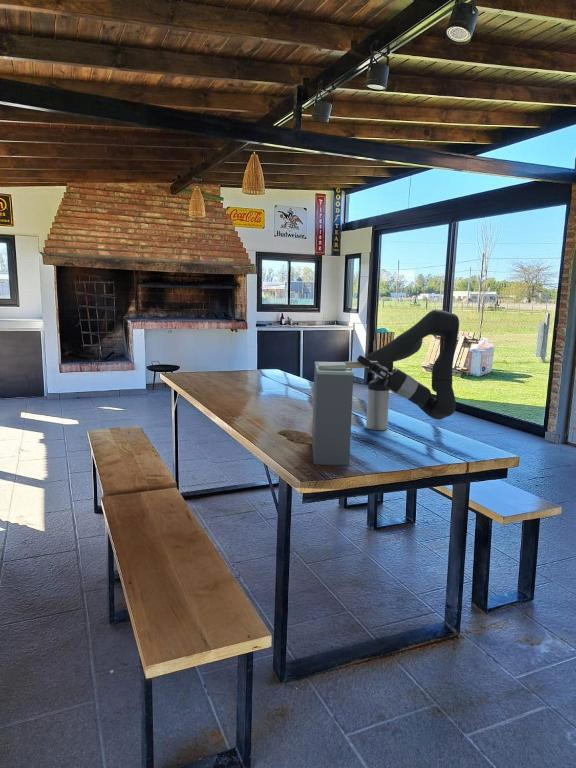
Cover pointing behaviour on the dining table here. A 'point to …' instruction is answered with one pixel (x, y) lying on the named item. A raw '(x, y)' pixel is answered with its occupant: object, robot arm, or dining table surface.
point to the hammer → (341, 365)
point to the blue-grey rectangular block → (332, 416)
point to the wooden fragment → (297, 436)
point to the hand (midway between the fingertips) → (359, 358)
